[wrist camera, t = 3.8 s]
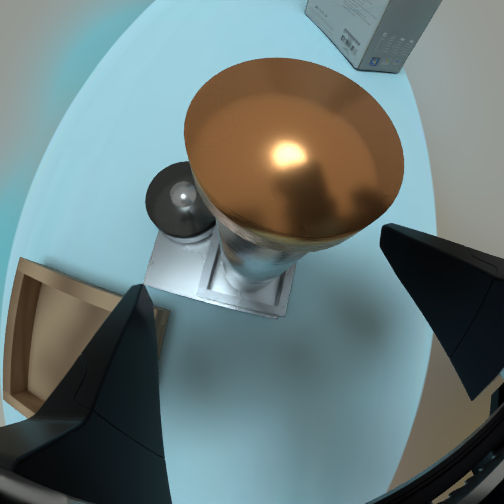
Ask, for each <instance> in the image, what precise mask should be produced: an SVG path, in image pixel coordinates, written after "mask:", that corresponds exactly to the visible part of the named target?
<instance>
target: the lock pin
mask: <svg viewBox="0 0 504 504" xmlns="http://www.w3.org/2000/svg"><path fill="white" fill-rule="evenodd" d="M184 139H185V146H186V151H187V155H188V159H189V163H190V167H191V171H192V175H193V178H194V181H195V185H196V188H197V190H198V192H199V194H200V196H201V198H202V200H203V202H204V203H205V205H206V206H207V207H208V209H209V210H210V212H211V213H212V214H213V215H214V216H215V218H216V224H217V231H218V237H219V243H220V249H221V255H222V261H223V267H224V272H225V276H226V279H227V280H228V282H229V283H230V284H231V286H233V287H234V288H235V289H237V290H239V291H241V292H245V293H253V292H257V291H260V290H262V289H263V288H265V287H266V286H267V285H268V284H270V283H271V282H272V281H273V280H275V279H276V278H277V277H278V276H280V275H281V274H282V273H283V272H285V271H286V270H287V269H288V268H289V267H291V266H292V265H293V264H294V263H296V262H297V261H298V260H299V259H301V258H302V257H303V256H304V255H305V254H307V253H308V252H315V251H319V250H324V249H328V248H330V247H333V246H336V245H338V244H340V243H342V242H344V241H346V240H347V239H349V238H351V237H352V236H354V235H355V234H356V233H358V232H359V231H361V230H362V229H364V228H365V227H367V226H368V225H370V224H371V223H372V222H374V221H375V220H376V219H378V218H379V217H380V216H381V215H382V214H384V213H385V212H386V211H387V209H388V208H389V207H390V206H391V205H392V203H393V202H394V200H395V198H396V196H397V195H398V193H399V190H400V187H401V184H402V180H403V174H404V156H403V149H402V146H401V142H400V139H399V136H398V134H397V131H396V129H395V127H394V125H393V123H392V121H391V120H390V118H389V116H388V115H387V114H386V112H385V111H384V109H383V108H382V107H381V106H380V105H379V103H378V102H377V101H376V100H375V99H374V98H373V97H372V96H371V95H370V94H369V93H368V92H367V91H365V90H364V89H363V88H362V87H360V86H359V85H358V84H356V83H355V82H353V81H352V80H350V79H349V78H347V77H346V76H344V75H342V74H340V73H338V72H336V71H334V70H332V69H329V68H327V67H324V66H321V65H318V64H315V63H312V62H308V61H303V60H298V59H291V58H263V59H255V60H251V61H246V62H243V63H240V64H237V65H234V66H231V67H229V68H227V69H225V70H223V71H221V72H220V73H218V74H217V75H215V76H214V77H212V78H211V79H210V80H209V81H208V82H206V83H205V84H204V85H203V86H202V87H201V89H200V90H199V91H198V92H197V93H196V95H195V97H194V98H193V100H192V101H191V104H190V106H189V108H188V111H187V114H186V118H185V123H184Z"/></svg>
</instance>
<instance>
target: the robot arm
mask: <svg viewBox="0 0 504 504" xmlns="http://www.w3.org/2000/svg"><path fill="white" fill-rule="evenodd" d="M380 248H381V250H382V252H383V253H384V255H385V257H386V258H387V260H388V262H389V263H390V265H391V267H392V268H393V270H394V272H395V274H396V275H397V277H398V278H399V280H400V281H401V283H402V284H403V286H404V287H405V289H406V290H407V291H408V293H409V294H410V296H411V297H412V299H413V300H414V302H415V303H416V305H417V306H418V308H419V309H420V311H421V312H422V314H423V315H424V317H425V319H426V320H427V322H428V323H429V325H430V327H431V328H432V330H433V331H434V333H435V335H436V336H437V338H438V340H439V341H440V343H441V345H442V347H443V348H444V350H445V352H446V353H447V355H448V357H449V358H450V361H451V363H452V365H453V366H454V368H455V370H456V372H457V374H458V376H459V378H460V379H461V382H462V384H463V385H464V387H465V389H466V392H467V393H468V396H469V398H470V399H471V401H473V400H474V399H475V398H476V397H477V396H478V395H480V394H481V393H482V392H483V391H484V390H485V389H486V388H487V387H488V386H489V385H490V384H491V383H492V382H493V381H494V380H495V379H496V378H497V377H498V376H499V375H501V377H502V378H503V379H504V259H502V258H499V257H496V256H493V255H489V254H487V253H484V252H481V251H478V250H475V249H472V248H469V247H465V246H463V245H460V244H458V243H455V242H451V241H449V240H445V239H442V238H439V237H436V236H433V235H430V234H427V233H424V232H420V231H417V230H414V229H411V228H407V227H404V226H400V225H397V224H393V223H389V224H385V225H383V226H382V229H381V236H380ZM470 470H472V472H473V474H474V476H472V477H470V478H468V479H467V480H466V481H465V482H464V483H465V485H464V486H463V487H461V488H459V489H457V490H455V491H453V492H451V493H450V494H449V497H450V498H447V499H445V500H444V501H442V502H440V503H438V504H504V383H503V384H502V385H501V386H500V387H499V388H498V389H497V390H496V391H495V392H494V393H493V394H492V395H491V407H490V416H489V418H488V419H487V420H486V421H485V422H484V423H483V424H482V425H481V426H480V427H479V428H477V429H476V430H475V431H474V432H473V433H472V434H471V435H470V436H468V437H467V438H466V439H465V440H464V441H463V442H461V443H460V444H459V445H458V446H457V447H455V448H454V449H453V450H452V451H450V452H449V453H448V454H446V455H445V456H444V457H442V458H441V459H440V460H438V461H437V462H436V463H434V464H433V465H431V466H430V467H428V468H427V469H426V470H424V471H423V472H421V473H419V474H418V475H416V476H415V477H413V478H412V479H410V480H408V481H407V482H405V483H403V484H402V485H400V486H398V487H396V488H395V489H393V490H391V491H389V492H387V493H385V494H383V495H382V496H380V497H378V498H376V499H374V500H372V501H369V502H367V503H365V504H433V503H432V500H434V499H435V498H436V497H438V496H439V495H441V494H442V493H443V492H445V491H446V490H447V489H449V488H450V487H451V486H453V485H454V484H455V483H456V482H458V481H459V480H460V479H461V478H462V477H464V476H465V475H466V474H467V473H468V472H469V471H470ZM0 504H172V500H171V495H170V489H169V483H168V476H167V470H166V462H165V455H164V447H163V437H162V427H161V415H160V400H159V379H158V344H157V335H156V326H155V317H154V307H153V303H152V300H151V298H150V296H149V294H148V292H147V289H146V287H145V286H144V284H138V285H134V286H132V287H131V288H130V289H129V290H128V291H127V293H126V294H125V295H124V296H123V298H122V299H121V300H120V302H119V303H118V304H117V305H116V307H115V308H114V309H113V311H112V312H111V313H110V314H109V316H108V317H107V318H106V320H105V321H104V322H103V324H102V325H101V326H100V328H99V329H98V330H97V332H96V333H95V334H94V336H93V337H92V339H91V340H90V341H89V343H88V344H87V346H86V347H85V348H84V350H83V351H82V353H81V355H79V357H78V358H77V360H76V361H75V363H74V364H73V365H72V367H71V368H70V369H69V371H68V372H67V374H66V375H65V376H64V378H63V379H62V380H61V382H60V383H59V384H58V385H57V387H56V388H55V389H54V391H53V392H52V393H51V394H50V396H49V397H48V398H47V400H46V401H45V402H44V403H43V405H42V406H41V407H40V409H39V410H38V411H37V412H36V413H35V414H34V415H33V416H31V417H30V418H28V419H26V420H24V421H21V422H17V423H14V424H10V425H7V426H3V427H0Z"/></svg>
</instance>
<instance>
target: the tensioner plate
mask: <svg viewBox="0 0 504 504" xmlns="http://www.w3.org/2000/svg"><path fill="white" fill-rule="evenodd" d="M145 203H146V210H147V213H148V215H149V217H150V219H151V220H152V222H153V223H154V224H155V225H156V227H157V228H158V229H159V232H158V235H157V238H156V241H155V244H154V247H153V251H152V254H151V257H150V261H149V264H148V268H147V271H146V275H145V278H144V282H143V284H144V285H147V286H150V287H153V288H157V289H160V290H163V291H167V292H170V293H174V294H177V295H181V296H184V297H188V298H191V299H195V300H199V301H203V302H206V303H210V304H214V305H218V306H222V307H226V308H230V309H234V310H238V311H242V312H246V313H250V314H254V315H259V316H263V317H268V318H272V319H277V317H278V316H279V317H285V313H286V309H287V304H288V300H289V295H290V291H291V286H292V282H293V277H294V272H295V267H296V263H294V264H293V265H292V266H291V267H289V268H288V269H287V270H286V271H285V272H283V273H282V274H281V275H280V276H278V277H277V278H276V279H275V280H273V281H272V282H271V283H270V284H268V285H267V286H266V287H265V288H263V289H262V290H260V291H257V292H253V293H245V292H241V291H239V290H237V289H235V288H234V287H233V286H231V284H230V283H229V282H228V280H227V279H226V276H225V272H224V267H223V261H222V255H221V249H220V243H219V237H218V231H217V224H216V218H215V216H214V215H213V214H212V213H211V212H210V210H209V209H208V207H207V206H206V205H205V203H204V202H203V200H202V198H201V196H200V194H199V192H198V190H197V188H196V185H195V181H194V178H193V175H192V171H191V167H190V163H189V162H188V161H186V162H179V163H175V164H172V165H170V166H168V167H166V168H165V169H163V170H162V171H160V172H159V173H158V174H157V175H156V176H155V177H154V179H153V180H152V182H151V183H150V185H149V187H148V190H147V193H146V201H145Z"/></svg>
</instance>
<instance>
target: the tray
mask: <svg viewBox="0 0 504 504" xmlns="http://www.w3.org/2000/svg"><path fill="white" fill-rule="evenodd" d="M122 298H123V295H120V294H117V293H114V292H111V291H109V290H106V289H103V288H100V287H98V286H95V285H92V284H90V283H87V282H84V281H82V280H79V279H76V278H74V277H71V276H69V275H66V274H64V273H61V272H59V271H57V270H54V269H52V268H49V267H47V266H45V265H42V264H39V263H36V262H33V261H30V260H28V259H25V258H22V257H20V259H19V262H18V266H17V270H16V275H15V279H14V283H13V288H12V293H11V299H10V304H9V310H8V317H7V325H6V333H5V344H4V359H3V399H4V400H5V401H6V402H7V403H8V404H10V405H11V406H12V407H13V408H15V409H16V410H17V411H18V412H20V413H21V414H22V415H24V416H25V417H26V418H30V417H31V416H33V415H34V414H35V413H36V412H37V411H38V410H39V409H40V407H41V406H42V405H43V403H44V402H45V401H46V400H47V398H48V397H49V396H50V394H51V393H52V392H53V391H54V389H55V388H56V387H57V385H58V384H59V383H60V382H61V380H62V379H63V378H64V376H65V375H66V374H67V372H68V371H69V369H70V368H71V367H72V365H73V364H74V363H75V361H76V360H77V358H78V357H79V355H81V353H82V351H83V350H84V348H85V347H86V346H87V344H88V343H89V341H90V340H91V339H92V337H93V336H94V334H95V333H96V332H97V330H98V329H99V328H100V326H101V325H102V324H103V322H104V321H105V320H106V318H107V317H108V316H109V314H110V313H111V312H112V311H113V309H114V308H115V307H116V305H117V304H118V303H119V302H120V300H121V299H122ZM153 307H154V317H155V326H156V335H157V344H158V361H159V356H160V351H161V347H162V343H163V338H164V334H165V330H166V325H167V321H168V317H169V313H170V310H167V309H163V308H160V307H157V306H154V305H153Z"/></svg>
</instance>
